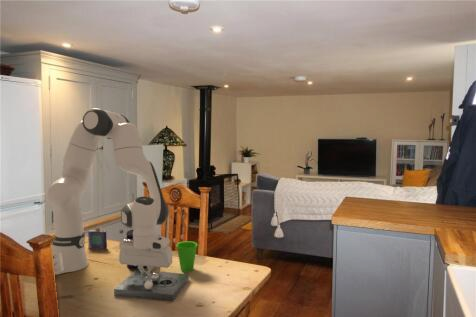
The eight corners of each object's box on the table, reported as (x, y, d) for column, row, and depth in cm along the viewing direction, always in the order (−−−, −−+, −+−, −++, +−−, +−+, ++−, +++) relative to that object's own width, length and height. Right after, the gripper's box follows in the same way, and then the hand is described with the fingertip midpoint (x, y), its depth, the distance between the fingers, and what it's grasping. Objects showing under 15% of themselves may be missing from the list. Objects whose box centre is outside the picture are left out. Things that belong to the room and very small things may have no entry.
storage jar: (137, 259, 166) (137, 227, 164) (154, 263, 162) (154, 230, 160) (121, 267, 157) (121, 233, 155) (139, 271, 153) (139, 236, 151)
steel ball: (158, 280, 136) (151, 284, 136) (161, 277, 139) (155, 281, 139) (154, 273, 136) (147, 277, 136) (157, 269, 139) (150, 273, 139)
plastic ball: (142, 290, 130) (142, 282, 130) (146, 286, 133) (146, 278, 133) (150, 291, 129) (150, 283, 129) (154, 287, 132) (154, 279, 132)
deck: (114, 295, 131) (114, 288, 131) (136, 275, 149) (136, 269, 148) (172, 301, 127) (172, 294, 127) (188, 280, 145) (188, 274, 145)
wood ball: (148, 275, 143) (148, 265, 142) (152, 271, 147) (152, 261, 146) (157, 276, 142) (157, 266, 142) (161, 272, 146) (161, 262, 146)
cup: (193, 274, 150) (193, 248, 149) (172, 272, 152) (172, 247, 151) (200, 266, 159) (200, 242, 158) (180, 264, 161) (180, 240, 160)
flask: (87, 249, 179) (87, 227, 178) (90, 247, 182) (90, 225, 181) (105, 250, 178) (105, 228, 177) (108, 248, 181) (107, 226, 180)
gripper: (115, 241, 136) (116, 277, 137) (167, 245, 132) (168, 282, 133) (123, 236, 142) (124, 271, 143) (173, 239, 138) (174, 275, 139)
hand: (145, 276), depth 138 cm, fingers closed
